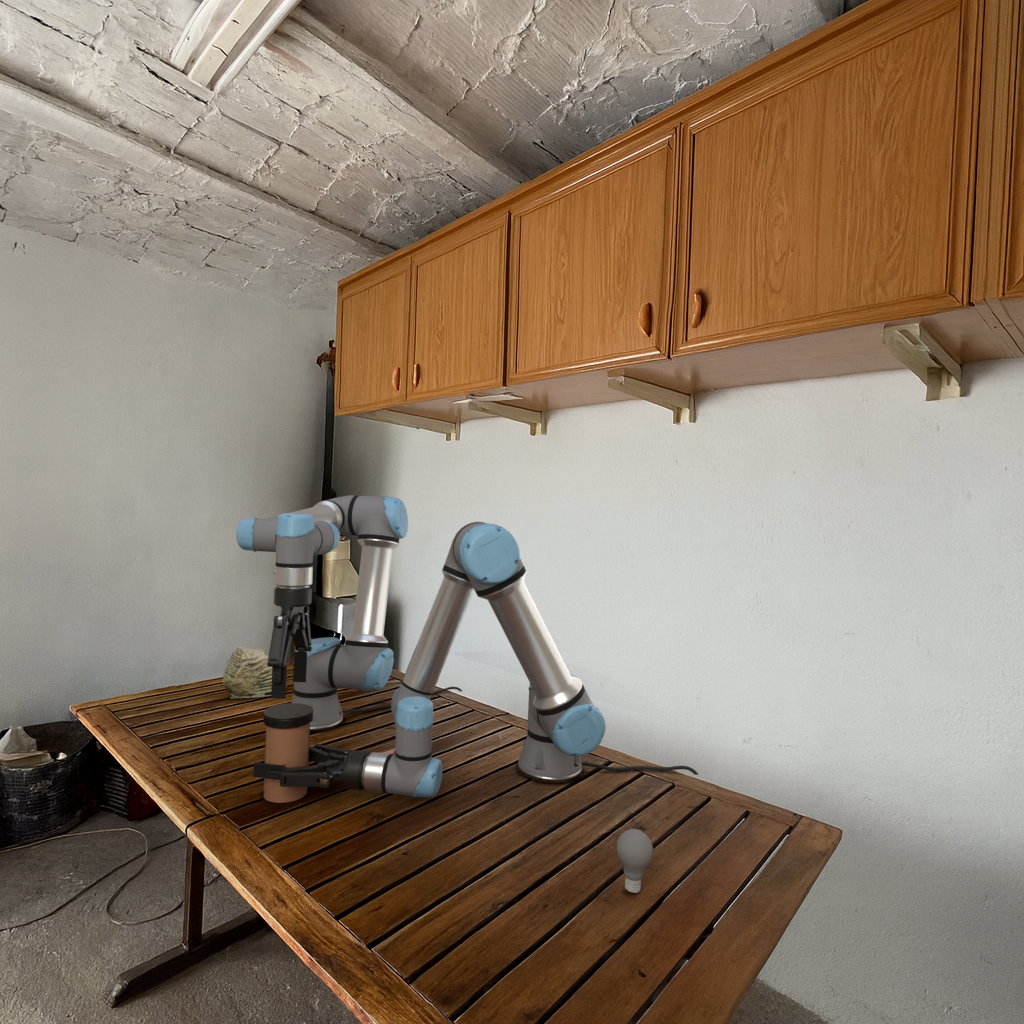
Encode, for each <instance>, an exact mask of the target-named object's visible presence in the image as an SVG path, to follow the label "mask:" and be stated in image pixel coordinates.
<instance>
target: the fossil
mask: <svg viewBox="0 0 1024 1024" xmlns="http://www.w3.org/2000/svg"><path fill="white" fill-rule="evenodd" d="M268 657H269V654H267V653H266V652H265V650H264V649H263V648H260V647H258V648H251V647H247V646H246V647H245V646H238V647H237V648H236V649H235V650H233V651H232V653H231V656H230V657H229V659H228V660H227V663H226V666H225V668H224V671H223V675H222V676H223V677H222V685H223V687H224V688H225V690H226V691H228V693H229V698H230V699H250V698H264V697H271V690H272V667H268V666H267V662H268ZM287 687H288V686H287V684H286V688H287Z"/></svg>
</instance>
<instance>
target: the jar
mask: <svg viewBox="0 0 1024 1024" xmlns="http://www.w3.org/2000/svg"><path fill="white" fill-rule="evenodd" d="M310 734H311V732H310V723H308V724H306V725H304V726H301V727H296V728H288V729H278V728H271V727H268V726H266V725H265V739H264V763H267V764H276V765H284V764H285V768H291V767H303V766H309V763H310V762H309V747H310V736H311V735H310ZM308 788H309V787H281V786H280V780H277V779H269V778H263V793H262V794H263V798H264V800H265V801H268V802H270V803H276V804H285V803H291V802H295V801H298V800H300V799H302V798H304V797H305V796H306V795H307V793H308V790H309V789H308Z"/></svg>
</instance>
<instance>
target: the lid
mask: <svg viewBox="0 0 1024 1024" xmlns="http://www.w3.org/2000/svg"><path fill="white" fill-rule="evenodd" d="M312 720H313V708H312V707H311V706H309V705H306V704H300V703H291V702H289V703H287V702H286V703H280V704H279V703H278V704H275V705H272V706H269V707H267V708H266V709H264V711H263V716H262V722H263V724H264V726H265V727H266V726H268V727H271V728H278V729H288V728H296V727H301V726H304V725H306V724H308V723H310V722H311V721H312Z"/></svg>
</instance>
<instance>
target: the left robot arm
mask: <svg viewBox="0 0 1024 1024" xmlns="http://www.w3.org/2000/svg"><path fill="white" fill-rule="evenodd" d="M408 531H409V517H408V511H407V507H406V505H405V503H404V501H403V500H402V499H400V497H399V498H398V497H394V496H387V495H385V496H380V495H379V496H378V495H357V494H356V495H355V494H349V495H343V496H338V497H334V498H329V499H325V500H321V501H319V502H317V503H315V504H314V505H313V506H312V507H308V508H304V509H300V510H299V509H298V510H296V511H292V512H291V511H290V512H287V513H285V512H284V513H280V514H279V515H275V516H270V517H266V518H257V517H252V518H244V519H242V520H241V521H240V522H239V523H238V526H237V528H236V532H235V535H236V543H237V545H238V547H239V548H240V549H242V550H244V551H252V552H253V553H256V552H263V553H264V552H265V553H275V565H274V566H275V569H273V571H272V572H273V574H274V585H275V586H276V587H275V588H274V590H273V604H274V605H275V606H277V607H280V608H281V611H280V615H274V616H273V627H272V634H271V639H270V645H269V650H268V656H269V657H268V662H267V666H268V667H272V690H271V696H270V698H271V699H278V700H279V699H280V700H285V699H286V698H287V687H286V685H287V680H288V679H287V674H288V666H287V665H286V663H287V658H288V654H289V650H290V647H291V642H292V640H293V644H294V647H295V648H294V649H295V651H294V652H293V665H292V668H293V669H292V683H293V695H292V696H293V697H292V699H291V702H290V703H300V704H306V705H309V706H311V707H312V708H313V720H312V721H311V722H310V733H316V732H325V731H329V730H332V729H335V728H337V727H339V726H340V725H342V723H343V722H344V714H345V713H347V714H348V713H361V712H369V711H376V710H380V709H382V710H383V709H388V708H391V704H385V705H379V706H373V707H366V708H352V709H342V706H341V702H340V699H339V695H338V689H342V690H343V689H345V690H352V691H353V690H354V691H355V690H356V691H362V692H379V691H381V690H382V689H383V688H384V687H385V686H386V685H387V684H388V681H389V679H390V677H391V675H392V671H393V668H394V661H395V657H394V651H393V650H392V649H391V648H390V647H388V646H389V641H388V640H387V637H385V634H384V632H385V624H386V616H387V605H388V598H389V597H388V596H389V590H390V589H389V587H390V578H391V571H392V570H391V569H392V561H393V560H392V559H393V551H394V550H395V549H396V548H397V547H399V545H400V540H402V539H404V538H406V537H407V533H408ZM341 535H345V536H355V537H356V536H357V543H358V544H359V545H360V546H361V553H360V554H361V556H360V563H359V573H358V579H357V588H356V596H355V603H354V612H353V613H354V614H353V621H352V628H351V633H350V634H349V635H348V636H347V637H346V638H345V640H344V641H345V642H344V644H341V641H340V639H339V638H338V637H334V636H331V637H330V636H327V637H326V636H325V637H318V638H313V639H312V634H311V624H310V605H311V604H312V595H313V589H312V587H311V586H312V585H313V576H314V575H313V572H314V566H313V565H314V563H313V561H314V556H318V555H323V556H324V555H326V554H328V553H331V552H333V551H335V550H336V549H337V548H338V546H339V544H340V541H341ZM449 690H457V691H458V692H463V690H462V689H461V688H460V687H458V686H448V687H444V688H442V689H438V690H434V691H433V694H432V696H434V695H435V694H439V693H444V692H446V691H449Z"/></svg>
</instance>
